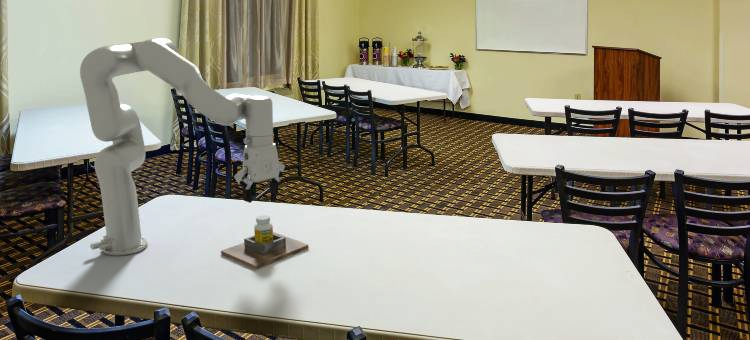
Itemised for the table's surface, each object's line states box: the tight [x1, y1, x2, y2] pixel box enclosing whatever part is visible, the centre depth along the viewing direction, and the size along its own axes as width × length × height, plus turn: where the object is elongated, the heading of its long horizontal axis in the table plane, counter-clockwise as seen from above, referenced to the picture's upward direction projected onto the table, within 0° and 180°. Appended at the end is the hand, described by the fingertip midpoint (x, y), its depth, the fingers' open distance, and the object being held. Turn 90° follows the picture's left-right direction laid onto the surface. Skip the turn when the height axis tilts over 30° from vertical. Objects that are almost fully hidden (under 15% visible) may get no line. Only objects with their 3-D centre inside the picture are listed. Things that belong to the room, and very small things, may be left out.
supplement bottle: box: [253, 214, 274, 245], centre depth 175 cm, size 5×5×10 cm
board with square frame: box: [220, 231, 310, 270], centre depth 176 cm, size 20×16×4 cm
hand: (261, 197), depth 172 cm, fingers open, 9 cm apart
